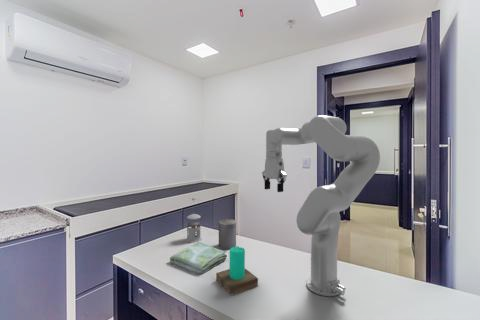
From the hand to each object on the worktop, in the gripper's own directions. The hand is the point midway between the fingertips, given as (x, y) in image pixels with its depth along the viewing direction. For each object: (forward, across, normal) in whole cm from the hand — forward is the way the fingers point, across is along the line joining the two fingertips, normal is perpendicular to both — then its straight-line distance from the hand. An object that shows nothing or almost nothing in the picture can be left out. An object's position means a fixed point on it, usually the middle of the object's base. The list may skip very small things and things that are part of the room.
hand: (273, 190), depth 116 cm
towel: (+34, +16, +32) cm, 49 cm away
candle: (+31, -10, +27) cm, 42 cm away
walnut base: (+33, -10, +27) cm, 44 cm away
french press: (+34, +44, +24) cm, 60 cm away
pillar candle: (+34, +25, +12) cm, 44 cm away
